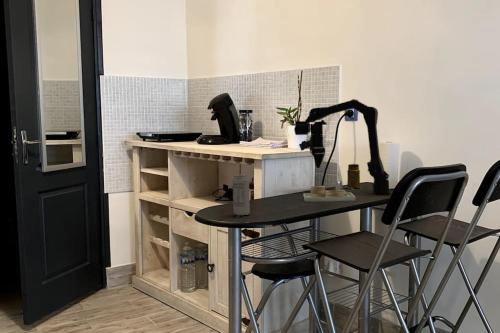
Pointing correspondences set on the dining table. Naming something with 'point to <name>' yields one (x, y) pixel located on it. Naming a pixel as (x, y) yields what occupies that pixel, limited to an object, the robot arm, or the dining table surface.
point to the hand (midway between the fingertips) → (317, 167)
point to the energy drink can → (241, 194)
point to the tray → (328, 198)
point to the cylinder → (338, 185)
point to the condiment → (353, 175)
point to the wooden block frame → (326, 192)
